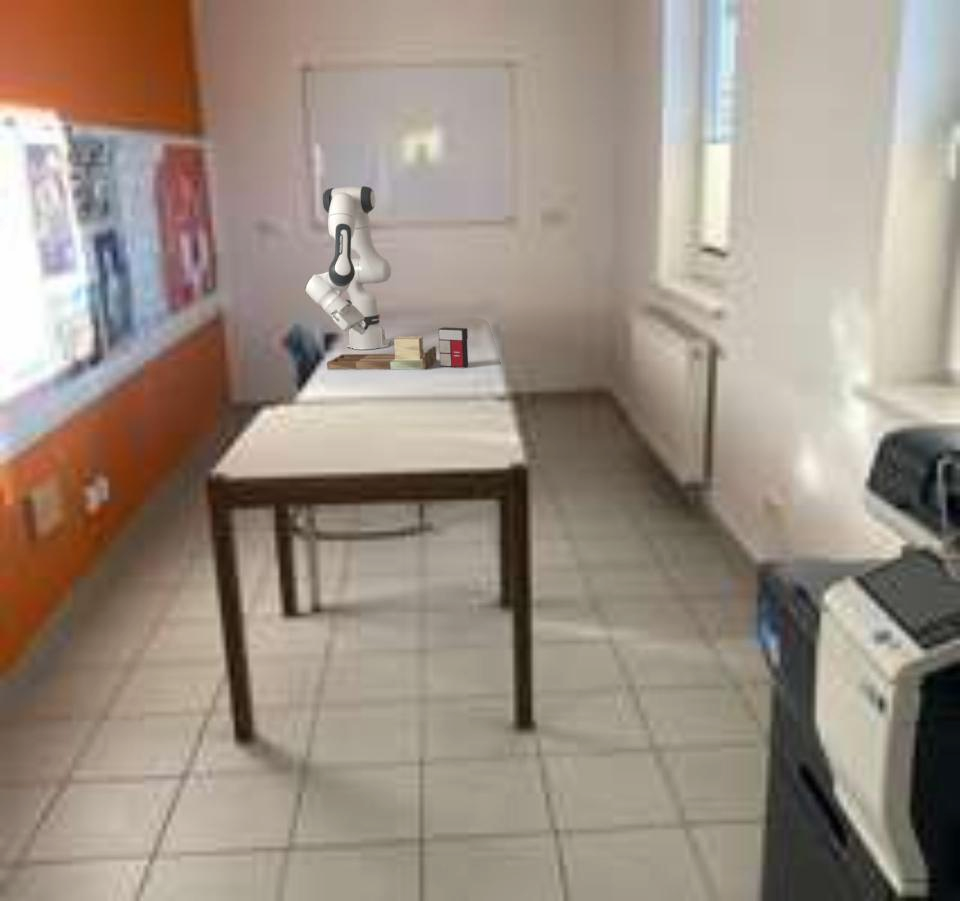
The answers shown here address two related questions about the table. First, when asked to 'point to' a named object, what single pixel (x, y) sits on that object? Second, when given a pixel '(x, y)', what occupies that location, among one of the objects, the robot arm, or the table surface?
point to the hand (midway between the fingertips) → (363, 333)
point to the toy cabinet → (453, 347)
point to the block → (408, 348)
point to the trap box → (381, 361)
